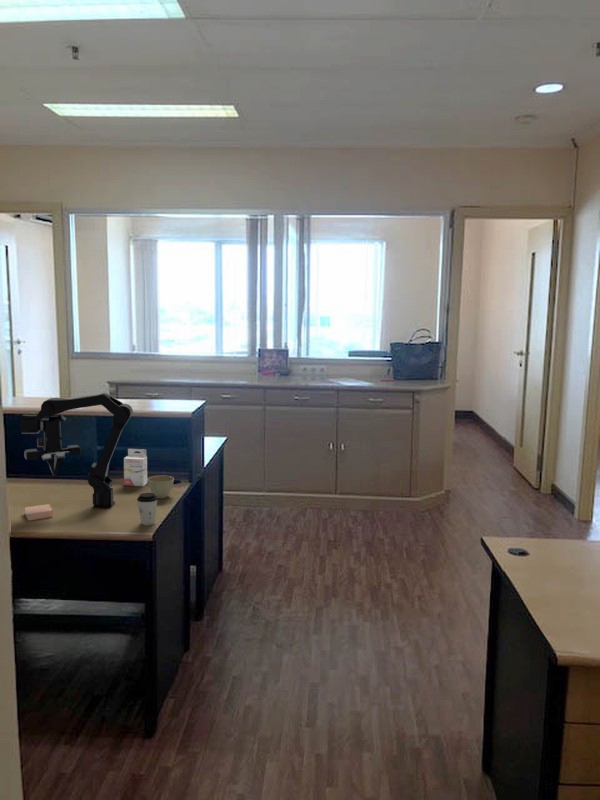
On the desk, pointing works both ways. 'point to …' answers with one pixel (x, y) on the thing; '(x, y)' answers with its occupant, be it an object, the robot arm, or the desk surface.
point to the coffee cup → (147, 508)
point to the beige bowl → (161, 485)
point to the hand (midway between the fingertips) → (54, 475)
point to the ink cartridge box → (135, 468)
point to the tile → (38, 512)
